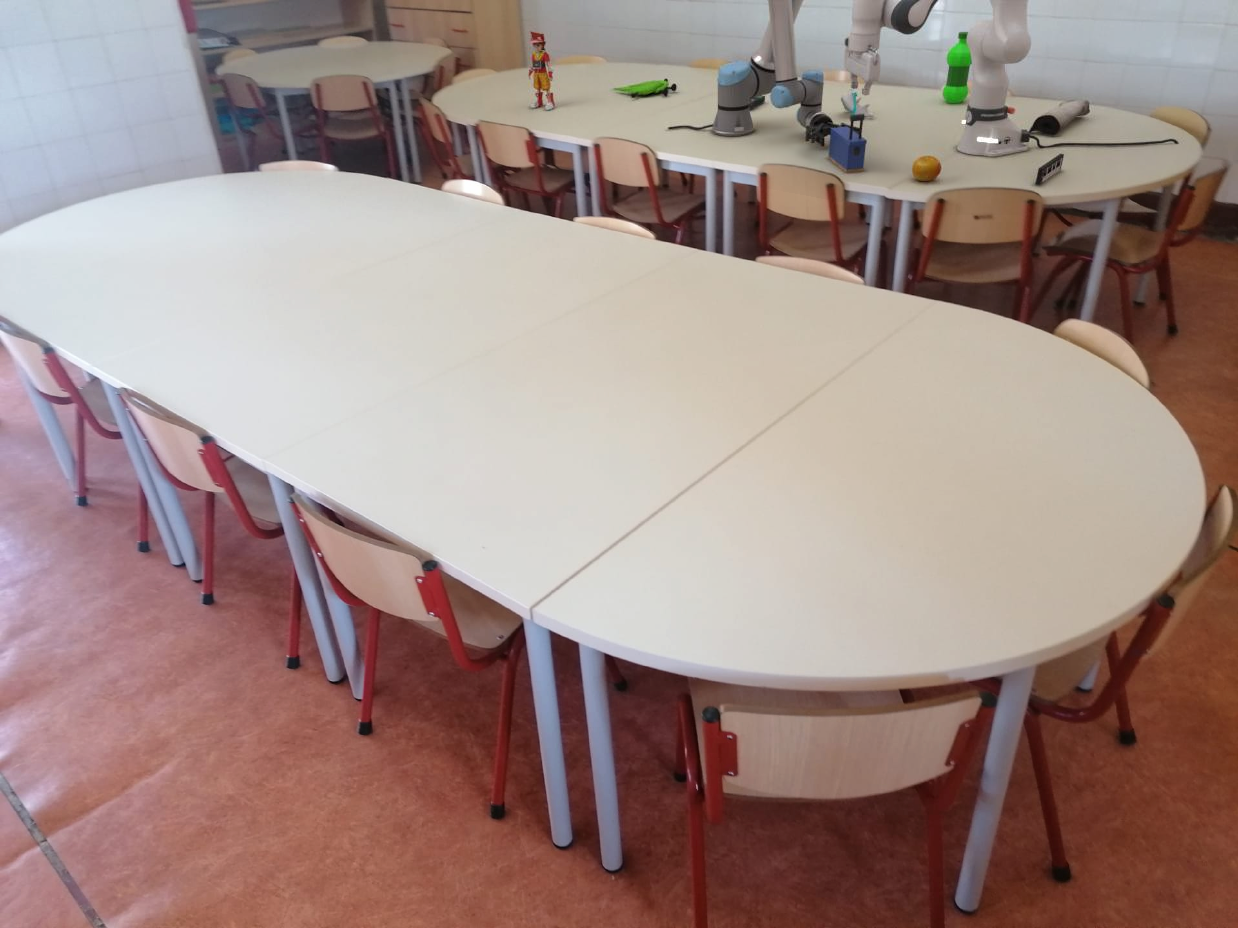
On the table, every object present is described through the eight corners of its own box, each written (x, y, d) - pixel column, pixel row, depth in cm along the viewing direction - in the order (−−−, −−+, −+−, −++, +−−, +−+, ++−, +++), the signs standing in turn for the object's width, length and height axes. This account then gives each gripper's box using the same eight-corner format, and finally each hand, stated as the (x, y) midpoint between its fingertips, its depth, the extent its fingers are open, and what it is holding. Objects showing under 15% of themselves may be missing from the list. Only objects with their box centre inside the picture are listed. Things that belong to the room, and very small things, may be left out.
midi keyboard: (1039, 185, 269) (1043, 168, 266) (1035, 184, 270) (1038, 168, 267) (1060, 170, 279) (1064, 154, 277) (1056, 169, 280) (1060, 153, 277)
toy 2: (686, 85, 398) (631, 84, 414) (685, 72, 395) (629, 72, 411) (651, 104, 381) (596, 103, 397) (650, 92, 378) (594, 91, 394)
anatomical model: (836, 88, 347) (861, 81, 346) (838, 115, 353) (863, 108, 352) (847, 98, 335) (873, 90, 334) (849, 125, 341) (875, 118, 340)
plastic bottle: (973, 101, 354) (984, 32, 339) (955, 106, 349) (966, 36, 335) (952, 97, 361) (962, 29, 346) (934, 102, 356) (944, 33, 342)
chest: (863, 171, 290) (865, 143, 285) (846, 173, 289) (848, 145, 284) (844, 156, 303) (846, 130, 298) (828, 158, 303) (830, 131, 298)
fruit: (905, 171, 275) (922, 148, 272) (907, 173, 283) (923, 151, 280) (928, 186, 274) (945, 163, 271) (929, 188, 282) (946, 166, 279)
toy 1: (525, 109, 381) (517, 32, 364) (534, 104, 388) (527, 28, 371) (550, 110, 377) (543, 32, 360) (559, 105, 384) (553, 28, 367)
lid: (866, 144, 284) (869, 115, 279) (849, 145, 284) (852, 117, 279) (846, 130, 298) (849, 103, 294) (830, 131, 298) (832, 104, 293)
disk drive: (750, 111, 360) (765, 102, 370) (750, 104, 358) (765, 95, 368) (726, 109, 364) (742, 100, 375) (726, 102, 363) (742, 93, 373)
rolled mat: (1057, 104, 331) (1081, 87, 323) (1070, 125, 332) (1095, 108, 324) (1024, 126, 314) (1049, 109, 306) (1039, 148, 314) (1064, 131, 306)
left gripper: (851, 132, 318) (874, 148, 300) (785, 138, 316) (805, 155, 298) (853, 110, 314) (877, 125, 296) (786, 116, 312) (807, 132, 294)
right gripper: (888, 48, 261) (882, 98, 269) (861, 36, 278) (857, 84, 286) (867, 50, 261) (862, 100, 269) (842, 38, 278) (838, 85, 285)
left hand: (841, 140), depth 297 cm, fingers open, 12 cm apart
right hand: (859, 91), depth 278 cm, fingers open, 8 cm apart
